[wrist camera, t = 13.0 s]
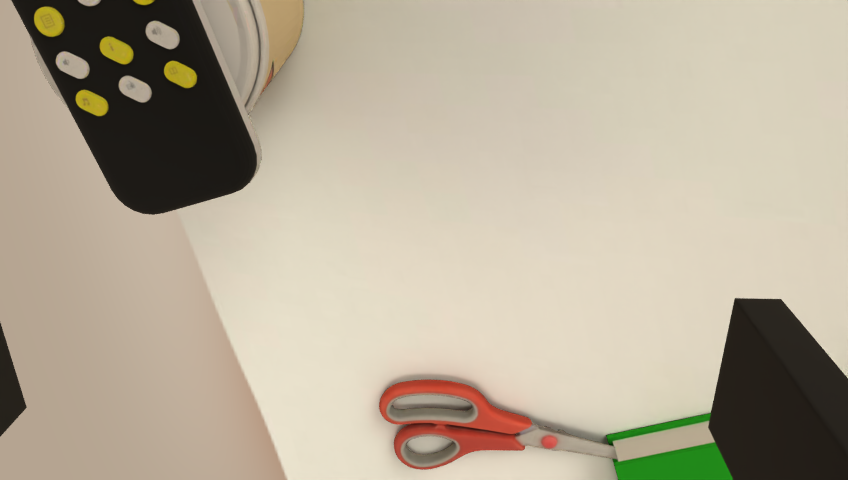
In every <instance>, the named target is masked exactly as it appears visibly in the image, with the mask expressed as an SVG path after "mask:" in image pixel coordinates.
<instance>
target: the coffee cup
mask: <svg viewBox="0 0 848 480" xmlns="http://www.w3.org/2000/svg"><path fill="white" fill-rule="evenodd" d="M200 2H201V4H202V7H203V9H204V11H205V14H206V16H207V19H208V21H209V23H210V26H211V28H212V30H213V33H214V35H215V38H216V40H217V42H218V45H219V47H220V49H221V52H222V54H223V57H224V59H225V61H226V64H227V66H228V68H229V71H230V73H231V76H232V78H233V80H234V83H235V85H236V87H237V90H238V92H239V95H240V97H241V99H242V102H243V104H244V106H245V109H246V111H247V114H249V113H250V111H251V110H252V108H253V107H254V105H255V103H256V101H257V99H258V97H259V96H260V95H261V93H262V92H263V91H264V89H265V88H266V87H267V85H268V84H269V83H270V81H271V80H272V79H273V77H274V76H275V75H276V73H277V72H278V71H279V69H280V68H281V67H282V65H283V64H284V63H285V61H286V60H287V59H288V57H289V56H290V54H291V53H292V51H293V49H294V48H295V46H296V44H297V41H298V39H299V37H300V34H301V30H302V26H303V18H304V5H303V0H200ZM30 38H31V36H30ZM31 43H32V47H33V50H34V53H35V56H36V59H37V61H38V63H39V65H40V68H41V70H42V72H43V74H44V76H45V77H46V79H47V81H48V83H49V84H50V86H51V87H52V89H53V90H54V92H55V93H56V94H57V96H58V97H59V98H60V99H61V101H62V102H63V103H64V104H65V105H66V106H67V104H66V103H65V101H64V99H63V97H62V95H61V93H60V91H59V89H58V87H57V86H56V84H55V82H54V80H53V78H52V76H51V74H50V72H49V70H48V68H47V67H46V65H45V63H44V61H43V59H42V57H41V55H40V53H39V51H38V50H37V48H36V46H35V44H34V42H33V40H32V38H31ZM67 107H68V106H67Z"/></svg>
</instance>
